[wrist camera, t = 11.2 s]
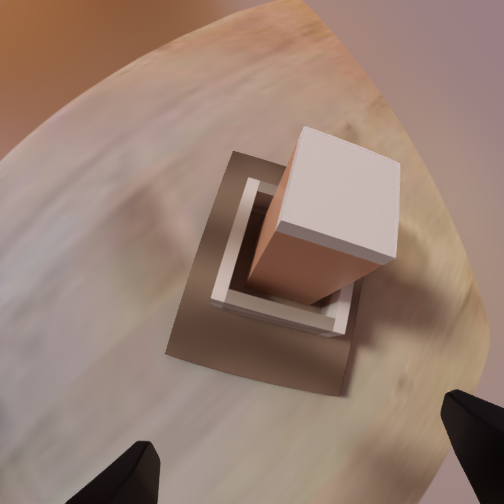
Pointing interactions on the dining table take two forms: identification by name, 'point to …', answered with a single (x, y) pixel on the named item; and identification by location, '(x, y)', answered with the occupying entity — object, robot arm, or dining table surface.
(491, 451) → the robot arm
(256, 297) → the square socket base
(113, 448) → the dining table surface
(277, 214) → the tan box white top
